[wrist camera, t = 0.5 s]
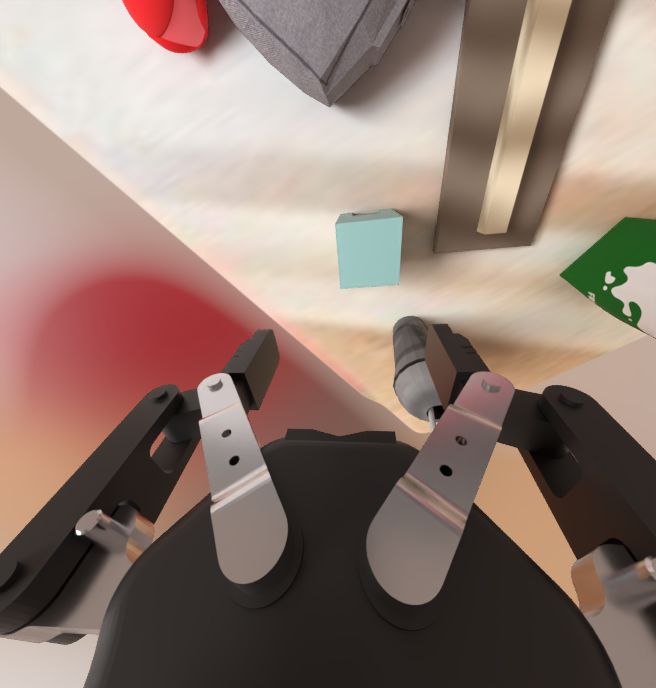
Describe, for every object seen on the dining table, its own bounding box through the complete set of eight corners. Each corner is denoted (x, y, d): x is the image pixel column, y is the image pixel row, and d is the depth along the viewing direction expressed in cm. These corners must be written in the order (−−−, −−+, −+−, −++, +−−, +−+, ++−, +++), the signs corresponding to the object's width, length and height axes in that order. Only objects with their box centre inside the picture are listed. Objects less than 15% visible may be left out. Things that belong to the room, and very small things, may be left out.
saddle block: (340, 214, 27) (335, 223, 21) (391, 208, 27) (403, 216, 20) (344, 266, 31) (340, 288, 24) (389, 262, 30) (399, 284, 23)
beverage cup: (440, 338, 35) (514, 474, 19) (394, 356, 38) (423, 488, 21) (425, 298, 32) (498, 419, 16) (375, 320, 35) (392, 443, 18)
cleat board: (470, -29, 18) (490, -67, 15) (626, -67, 16) (679, -116, 14) (433, 250, 29) (440, 257, 26) (524, 243, 27) (542, 249, 25)
